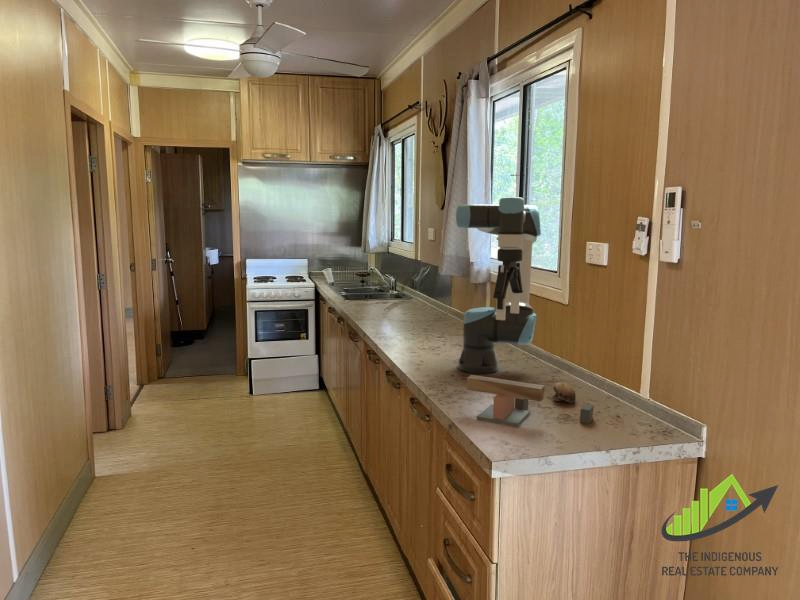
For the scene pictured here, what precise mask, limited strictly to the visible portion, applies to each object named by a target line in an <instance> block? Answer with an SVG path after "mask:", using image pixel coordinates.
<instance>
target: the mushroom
mask: <svg viewBox="0 0 800 600" xmlns="http://www.w3.org/2000/svg"><path fill="white" fill-rule="evenodd" d="M553 391H554V394H552V395H551V397H552V399H553V400H554V401H555V402H561V401H565V402H567V403H569V404H573V403H574V402H575V400H576V398H577V397H576V396H577V394H576V392H575V390H574V388H573V387H572V386H571V385H570V384H568V383H566V382H564V381H563V382H562V381H560V382H556V383H554V385H553Z"/></svg>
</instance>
